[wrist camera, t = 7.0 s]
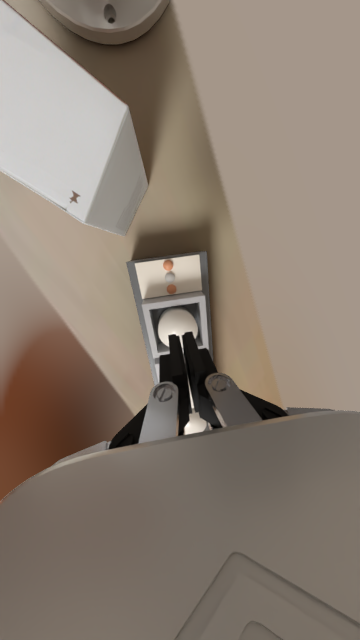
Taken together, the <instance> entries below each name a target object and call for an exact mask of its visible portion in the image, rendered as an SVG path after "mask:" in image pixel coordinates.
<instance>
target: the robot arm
mask: <svg viewBox="0 0 360 640" xmlns="http://www.w3.org/2000/svg"><path fill="white" fill-rule="evenodd" d="M39 1H40V2H41V3H42V5H43V6H44V7H45V8H46V9H47V10H48V11H49V12H50V13H51V14H52V16H53V17H54V18H56V19H57V20H58V21H59V22H61V23H62V24H63V25H64V26H65V27H67V28H68V29H69V30H70V31H72V32H74V33H76V34H78V35H80V36H81V37H83V38H85V39H87V40H90V41H94V42H97V43H101V44H122V43H125V42H129V41H132V40H135V39H136V38H138V37H139V36H141V35H142V34H144V33H145V32H147V31H148V30H149V29H150V28H151V27H152V26H153V25H154V24H155V23H156V22H157V20H158V19H159V18H160V17H161V15H162V14H163V12H164V10H165V8H166V7H167V5H168V3H169V2H170V0H39ZM168 339H169V350H170V354H165V355H160V356H159V384H157V385H156V386H154V387H153V389H152V390H151V393H150V396H149V401H148V404H147V405H146V406H145V407H144V408H143V409H142V410H141V411H140V412H139V413H138V414H137V415H136V416H135V417H134V418H133V419H132V420H131V421H130V422H129V423H128V424H127V425H125V427H123V428H122V429H121V430H120V431H119V432H118V434H116V435H115V437H114V438H113V439H112V441H110V442H108V443H107V442H106V441H104V442H101V443H99V444H96V445H94V446H92V447H89V448H87V449H84V450H82V451H79V452H77V453H75V454H72V455H70V456H68V457H65V458H63V459H61V460H59V461H58V462H56V463H55V464H54V465H53V466H52V467H50V468H48V469H45V470H44V471H42V472H40V473H38V474H36V475H35V476H33V477H31V478H29V479H28V480H26V481H25V482H23V483H22V484H20V485H19V486H18V487H16V488H15V489H14V490H12V491H11V492H10V493H9V494H8V495H7V496H6V497H4V498H3V499H2V500H1V502H0V640H360V412H355V411H342V410H340V411H339V410H338V411H335V410H331V409H315V408H289V407H287V408H286V410H283V409H281V408H280V407H278V406H276V405H274V404H272V403H270V402H267V401H265V400H263V399H260V398H258V397H256V396H254V395H251V394H249V393H247V392H244V391H242V390H240V389H239V388H238V387H237V385H236V384H235V383H234V381H233V380H232V379H231V378H230V377H229V376H228V375H226V374H223V373H218V372H217V369H216V367H215V365H214V363H213V360H212V358H211V356H210V354H209V351H208V349H207V348H202V349H198V346H197V343H196V341H195V338H194V335H193V332H192V331H191V332H184V335H182V342H183V350H184V356H183V351H182V346H181V342H180V337H179V336H176V334H172V335H168ZM184 357H185V361H184ZM185 365H186V366H185ZM188 381H189V384H188ZM189 385H190V390H191V395H192V400H193V405H194V409H195V413H198V412H199V416H200V418H202V419H203V420H205V421H207V422H208V426H209V429H210V430H208V431H203V432H198V433H192V434H187V435H185V426H186V425H187V423H188V422H189V421H190V418H189V414H192V407H191V399H190V391H189Z"/></svg>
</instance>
